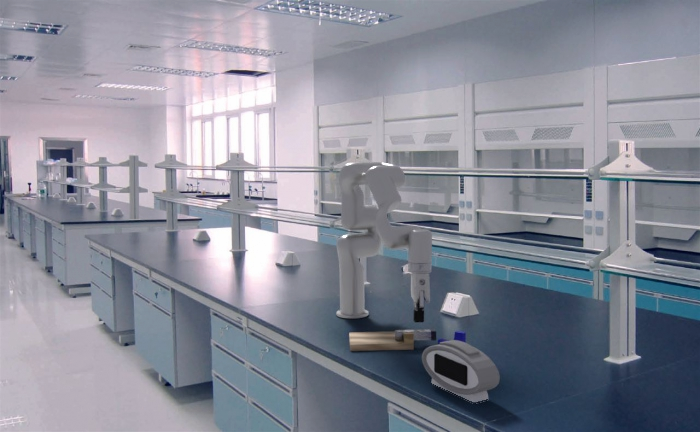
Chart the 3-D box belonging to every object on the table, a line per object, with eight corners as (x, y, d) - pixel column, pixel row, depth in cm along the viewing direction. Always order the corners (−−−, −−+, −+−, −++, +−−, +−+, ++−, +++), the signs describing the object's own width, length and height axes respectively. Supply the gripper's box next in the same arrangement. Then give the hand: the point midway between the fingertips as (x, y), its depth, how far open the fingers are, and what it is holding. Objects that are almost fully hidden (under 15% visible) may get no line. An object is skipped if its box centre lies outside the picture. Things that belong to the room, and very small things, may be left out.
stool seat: (349, 338, 208) (349, 323, 207) (408, 337, 208) (408, 322, 208) (350, 350, 194) (350, 335, 193) (413, 349, 194) (413, 333, 194)
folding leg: (395, 341, 195) (395, 332, 195) (394, 338, 199) (394, 329, 198) (436, 340, 195) (436, 331, 195) (435, 337, 198) (434, 328, 198)
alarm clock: (421, 380, 166) (421, 334, 165) (439, 376, 169) (439, 331, 168) (480, 409, 146) (480, 357, 145) (499, 404, 150) (500, 352, 149)
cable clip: (451, 362, 182) (451, 342, 181) (437, 359, 185) (437, 339, 184) (470, 351, 191) (470, 333, 191) (457, 349, 194) (456, 330, 194)
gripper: (435, 271, 194) (434, 328, 196) (426, 262, 209) (425, 315, 211) (412, 271, 193) (411, 328, 196) (404, 262, 208) (404, 315, 210)
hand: (418, 321), depth 203 cm, fingers closed
